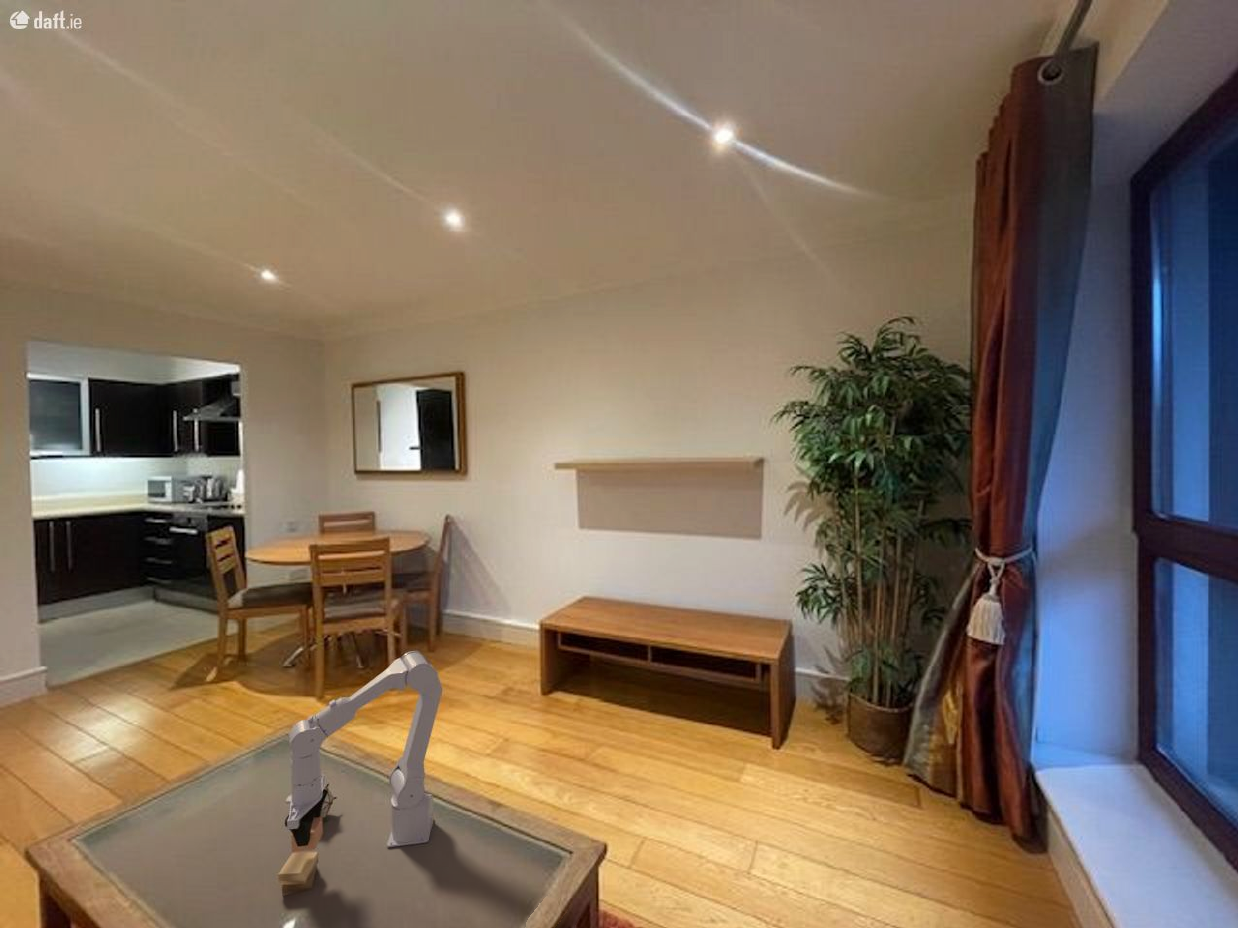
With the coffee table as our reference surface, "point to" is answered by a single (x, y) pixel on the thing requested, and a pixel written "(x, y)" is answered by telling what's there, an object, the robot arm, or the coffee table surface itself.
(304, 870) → the oak slab
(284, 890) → the walnut slab
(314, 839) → the terracotta block
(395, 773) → the robot arm
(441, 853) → the coffee table surface
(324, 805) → the game die
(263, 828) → the coffee table surface
